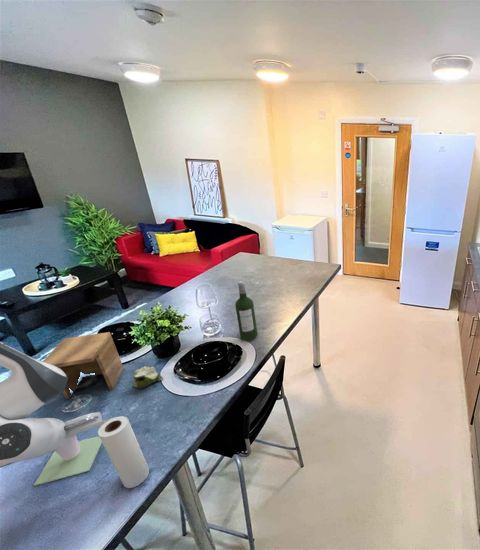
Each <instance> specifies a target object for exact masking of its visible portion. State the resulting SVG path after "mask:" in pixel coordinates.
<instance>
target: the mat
mask: <svg viewBox="0 0 480 550" xmlns="http://www.w3.org/2000/svg"><path fill="white" fill-rule="evenodd" d="M78 444H79V447H80V453H79V454H78V455H77V456H76V457H74V458H73V459H70V460H64V459H63V458H62V457H61V456H60V455H59V454H58V453H57V452H56V451H55V450H54V451H53V452H52V455H51V456H50V458H49V459H48V460H47V463H46V464H45V466H44V467H43V468H42V471H41V472H40V474H39V475H38V477H37V479H36V481H35V482H34V483H33V486H34V487H37V486H40V485H44V484H48V483H51V482H55V481H59V480H62V479H65V478H70V477H73V476H76V475H81V474H84V473H88V472H90V470H91V468H92V466H93V464H94V461H95V459H96V457H97V455H98V452H99V451H100V449H101V447H102V445H103V443H102V441H101V439H100V437H99V435H98V436H93V437H90V438H85V439H81V440H78Z"/></svg>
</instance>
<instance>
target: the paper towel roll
mask: <svg viewBox="0 0 480 550" xmlns="http://www.w3.org/2000/svg"><path fill="white" fill-rule="evenodd" d="M97 424H98V426H97V427H98V428H99V429H98V431H97V435H98V436H99V437H100V439H101V441H102V445H103V447H104V449H105V451H106V453H107V455H108V457H109V459H110V461H111V463H112V465H113V468H114V470H115V471H116V473H117V475H118V477H119V480H120V481H121V483H122V486H123V487H124V488H127V489H132V488H136V487H138V486H140V485H141V484H142V483H144V482H145V480H146V479H147V478H148V476H149V475H150V468H149V465H148V463H147V459H146V458H145V456H144V454H143V451H142V449H141V446H140V444H139V442H138V439H137V437H136V435H135V432H134V430H133V428H132V425H131V423H130V420H129V418H128V417H127V416H123V415H121V416H114V417H110V418H107V419H105V420H102V421H101V422H97Z"/></svg>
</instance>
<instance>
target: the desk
mask: <svg viewBox="0 0 480 550" xmlns="http://www.w3.org/2000/svg"><path fill="white" fill-rule="evenodd" d="M42 362H45V363H49V364H51V365H54V366H56V367H58V368H60V369H61V370H62V371H63V372H64V373H65V374H66V376H67V377H68V379H67V384H66V387H65V389H64V391H63V393H62V394H63V397H64V398H65V399H66V400H68V399H70V398H71V397H72V395H71V393H70V390H69V388H70V389H71V390H72V391H73V393H74V392H75V391H76V389H77V388H78V386H79V384H81V382H82V380H81V381H80V382H79V384H78V385H77V383H78V379H79V377H80V372H82V373H84V374H90V373H95V375H93V376H92V375H90V376H86V377H85V378H89V377H94V376H100V375H103V378H104V380H105V382H106V385H107V387H108V389H109V391H112V390H114V389H115V387H116V384H117V383H118V381H119V379H120V377H121V375H122V373H123V371H124V369H125V368H124V365H123V363H122V360H121V357H120V355H119V352H118V350H117V347H116V345H115V341H114V340H113V337H112V334H111V332H110V331H108V332H100V333H94V334H85V335H79V336H73V337H65V338H63V339H62V340H61V341H60V342H59V343H58V345H56V346H55V347H54V349H53V350H52V351H51V352H50V353H49V354H48V355H47V356H46V358H45V359H43V360H42Z"/></svg>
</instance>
